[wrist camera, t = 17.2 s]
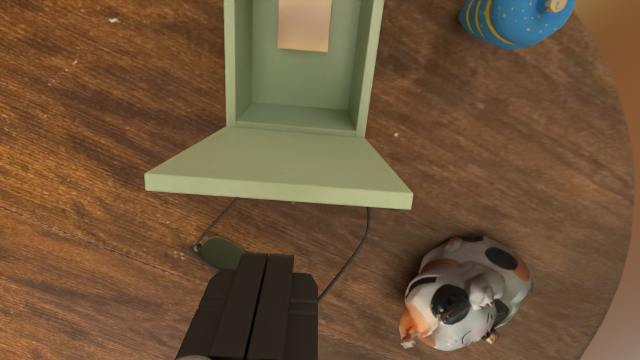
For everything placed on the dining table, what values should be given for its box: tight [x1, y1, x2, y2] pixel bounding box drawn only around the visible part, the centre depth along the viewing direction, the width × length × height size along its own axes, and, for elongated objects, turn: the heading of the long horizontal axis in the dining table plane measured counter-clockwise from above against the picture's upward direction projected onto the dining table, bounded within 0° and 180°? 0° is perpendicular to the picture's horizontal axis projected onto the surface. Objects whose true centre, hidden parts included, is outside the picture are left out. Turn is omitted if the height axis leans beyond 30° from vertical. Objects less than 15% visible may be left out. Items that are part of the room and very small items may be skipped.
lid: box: [144, 127, 413, 210], centre depth 22 cm, size 14×12×1 cm
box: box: [224, 0, 384, 138], centre depth 31 cm, size 14×12×9 cm
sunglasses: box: [188, 197, 371, 304], centre depth 40 cm, size 16×17×5 cm
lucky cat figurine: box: [399, 236, 533, 351], centre depth 41 cm, size 15×12×14 cm
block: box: [277, 0, 333, 53], centre depth 31 cm, size 4×4×4 cm
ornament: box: [458, 0, 575, 50], centre depth 27 cm, size 5×5×15 cm
